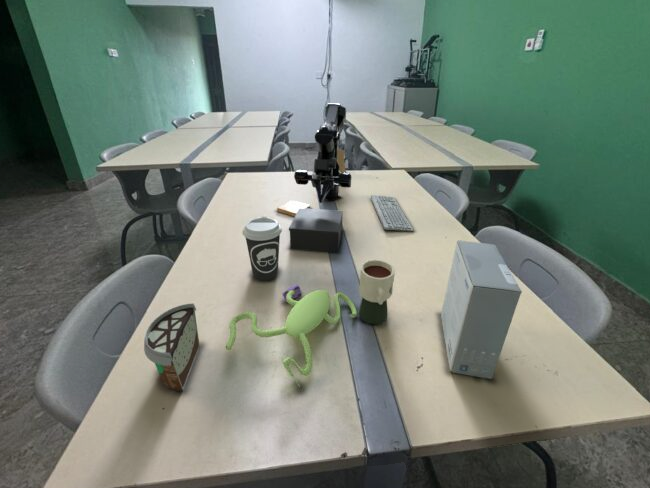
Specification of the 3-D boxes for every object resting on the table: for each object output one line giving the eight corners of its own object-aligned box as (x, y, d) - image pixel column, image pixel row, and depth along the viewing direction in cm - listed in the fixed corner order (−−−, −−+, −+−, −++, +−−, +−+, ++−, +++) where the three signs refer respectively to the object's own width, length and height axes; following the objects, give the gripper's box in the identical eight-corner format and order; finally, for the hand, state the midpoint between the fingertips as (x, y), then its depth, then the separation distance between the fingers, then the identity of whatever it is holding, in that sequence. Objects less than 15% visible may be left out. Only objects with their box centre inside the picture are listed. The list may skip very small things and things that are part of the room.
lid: (338, 234, 91) (338, 232, 91) (288, 230, 92) (288, 228, 92) (342, 213, 105) (342, 210, 104) (299, 209, 106) (299, 207, 105)
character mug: (394, 334, 66) (401, 284, 61) (360, 336, 66) (365, 285, 61) (383, 299, 76) (388, 254, 71) (354, 300, 76) (357, 254, 70)
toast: (291, 203, 127) (291, 200, 127) (310, 208, 123) (310, 205, 123) (277, 211, 120) (277, 207, 120) (296, 217, 116) (296, 213, 116)
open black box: (338, 252, 95) (338, 232, 92) (290, 248, 96) (289, 229, 93) (341, 231, 107) (342, 213, 105) (299, 228, 108) (299, 210, 106)
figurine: (215, 352, 61) (211, 331, 59) (300, 281, 82) (300, 263, 79) (289, 404, 52) (287, 381, 50) (364, 310, 73) (365, 290, 71)
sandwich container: (346, 170, 169) (347, 143, 163) (342, 180, 155) (344, 150, 149) (330, 169, 170) (331, 141, 164) (325, 178, 156) (326, 148, 150)
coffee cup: (289, 267, 87) (288, 219, 81) (272, 288, 79) (269, 236, 73) (259, 260, 90) (255, 212, 84) (239, 279, 82) (233, 228, 75)
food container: (170, 341, 63) (160, 302, 59) (202, 340, 64) (194, 301, 59) (140, 401, 52) (126, 358, 48) (179, 399, 52) (168, 356, 48)
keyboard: (413, 231, 109) (414, 226, 108) (384, 231, 108) (384, 226, 107) (394, 198, 135) (394, 194, 134) (370, 198, 135) (370, 194, 134)
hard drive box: (493, 381, 57) (523, 293, 49) (449, 373, 58) (471, 286, 50) (474, 319, 71) (495, 243, 63) (439, 314, 72) (455, 238, 64)
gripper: (294, 146, 101) (287, 190, 96) (352, 149, 100) (348, 194, 95) (299, 163, 112) (293, 204, 106) (352, 166, 110) (349, 207, 105)
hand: (320, 202), depth 103 cm, fingers closed
